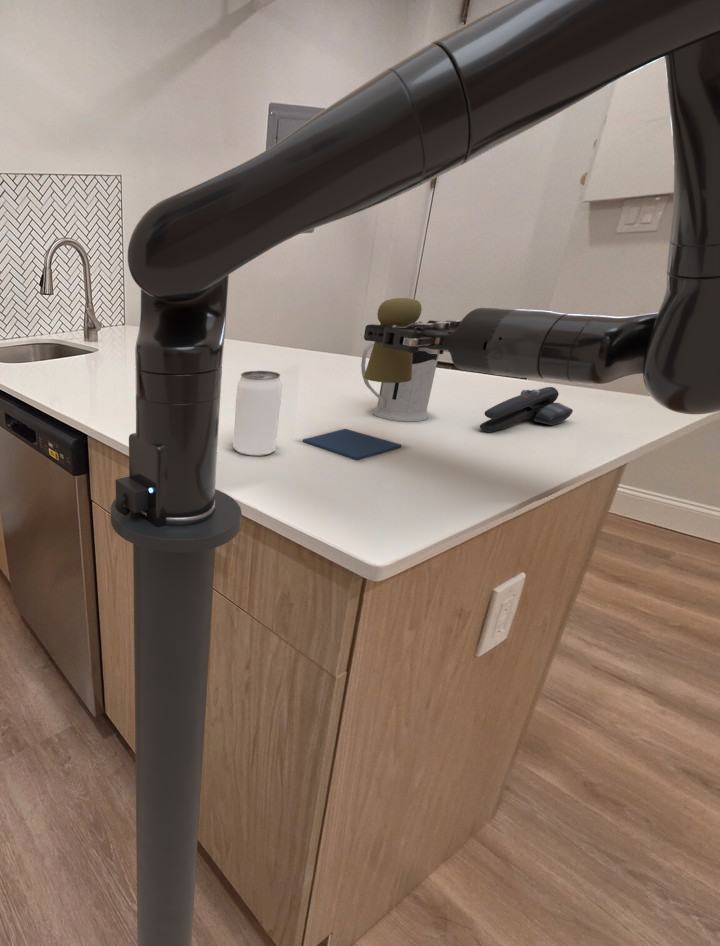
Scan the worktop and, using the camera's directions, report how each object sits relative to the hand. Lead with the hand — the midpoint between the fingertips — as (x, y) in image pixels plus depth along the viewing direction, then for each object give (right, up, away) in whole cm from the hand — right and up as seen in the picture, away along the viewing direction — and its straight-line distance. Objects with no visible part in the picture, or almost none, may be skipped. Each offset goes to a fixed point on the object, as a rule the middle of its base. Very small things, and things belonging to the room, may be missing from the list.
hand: (377, 330), depth 75 cm
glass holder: (+13, -10, +20) cm, 26 cm away
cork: (+2, -7, 0) cm, 7 cm away
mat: (0, -16, +7) cm, 18 cm away
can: (-15, -17, +7) cm, 24 cm away
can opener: (+31, -13, +12) cm, 35 cm away
